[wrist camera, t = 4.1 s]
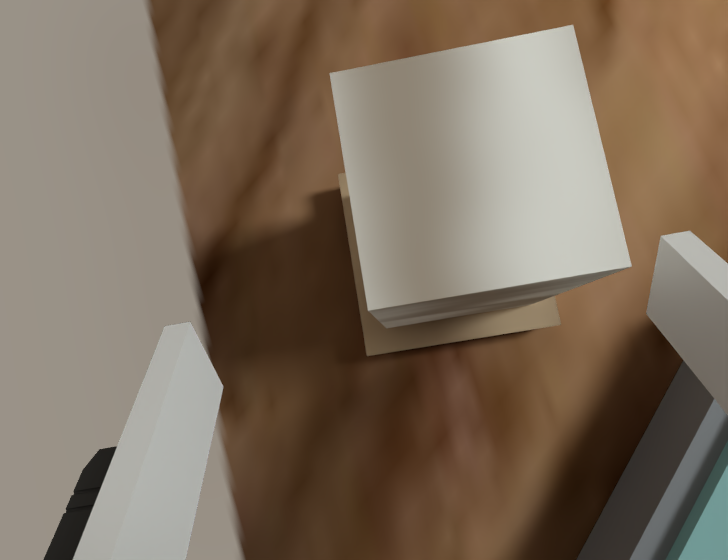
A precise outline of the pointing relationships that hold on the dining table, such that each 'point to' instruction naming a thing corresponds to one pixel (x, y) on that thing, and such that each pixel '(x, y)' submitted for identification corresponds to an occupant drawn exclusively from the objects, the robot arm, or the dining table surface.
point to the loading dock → (671, 484)
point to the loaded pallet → (473, 190)
